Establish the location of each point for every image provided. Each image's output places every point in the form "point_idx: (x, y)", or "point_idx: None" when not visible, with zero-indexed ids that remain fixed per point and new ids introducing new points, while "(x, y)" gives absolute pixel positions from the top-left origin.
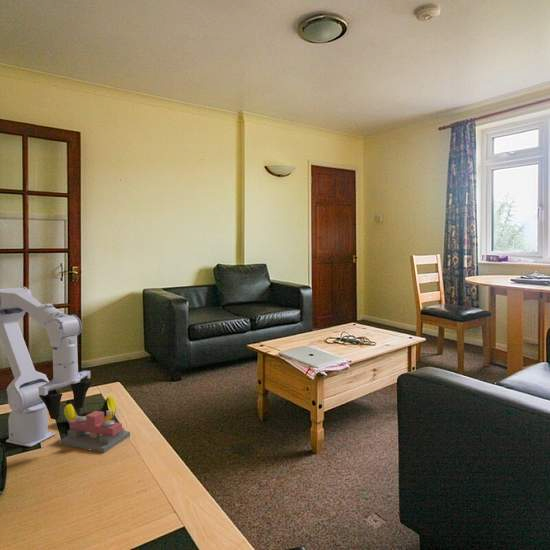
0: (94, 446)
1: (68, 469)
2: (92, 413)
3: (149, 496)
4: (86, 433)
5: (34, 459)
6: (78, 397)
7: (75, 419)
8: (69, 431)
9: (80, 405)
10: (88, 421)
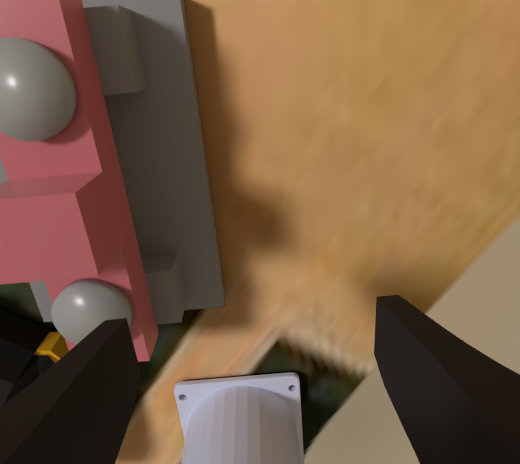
0: (190, 78)
1: (390, 42)
2: (44, 263)
3: None
4: None
5: (363, 276)
6: (91, 427)
7: None
8: (178, 309)
9: (118, 338)
10: (108, 235)
